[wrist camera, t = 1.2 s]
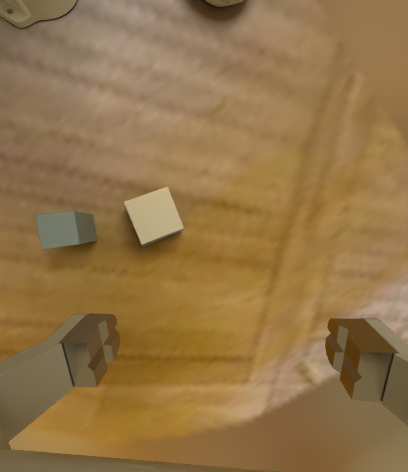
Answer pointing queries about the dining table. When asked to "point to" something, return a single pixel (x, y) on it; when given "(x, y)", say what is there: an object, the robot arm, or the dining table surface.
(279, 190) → the dining table surface
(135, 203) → the tower top
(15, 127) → the dining table surface
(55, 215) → the blue pillar
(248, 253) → the dining table surface
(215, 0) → the paper bowls
